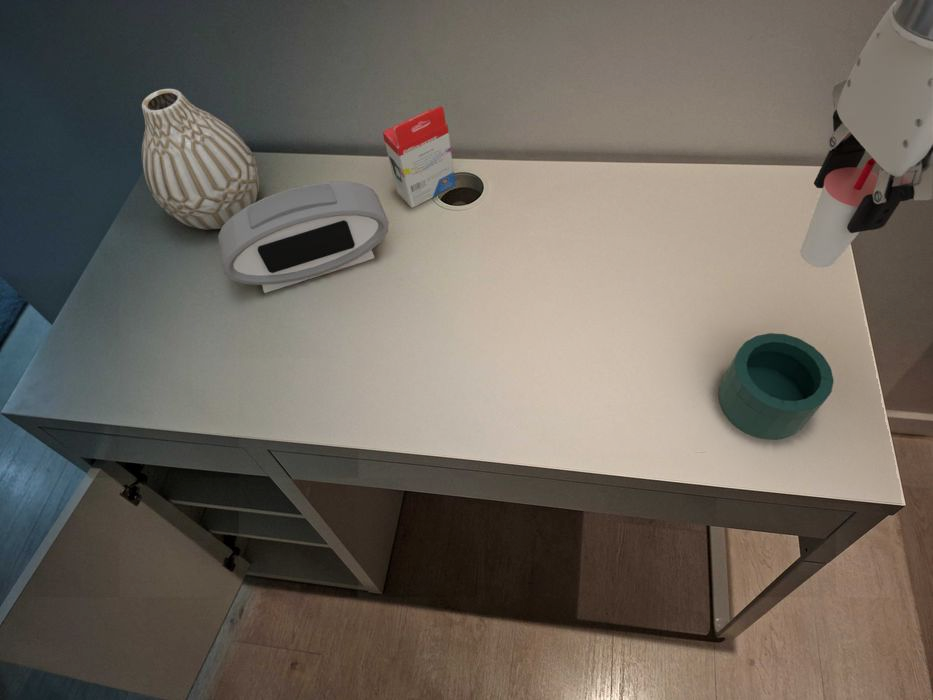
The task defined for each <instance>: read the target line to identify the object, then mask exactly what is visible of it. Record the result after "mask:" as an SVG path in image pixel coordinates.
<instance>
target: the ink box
mask: <svg viewBox="0 0 933 700" xmlns="http://www.w3.org/2000/svg"><path fill="white" fill-rule="evenodd" d="M382 136H383V141H384V144H385V149H386V152H387V157H388V161H389V164H390V169H391V173H392V177H393V181H394V185H395V189H396V193H397V194H398V195H399V196H400V198H401V199H402V200H403V201H405V202H406V204H407V205H408V206H409V207H410V208H412V209H413V208H415V207H418V206H419V205H421V204H423V203H425V202H428V200H431V199H432V198H434V197H436V196H438V195H440V194H442V193H445V192H446V191H448V190H450V189H452V188H454V187H455V186H456V179H455V171H454V163H453V156H452V155H453V154H452V149H451V141H450V134H449V125H448V123H447V121H446V115H445V107H444V105H439V106H437V107H435V108H433V109H432V108H430V109H427V110H426V111H423V112H421V113H419V114H417V115H415V116H413V117H410V118H409V119H406V120H404V121H402V122H400V123H398V124H395V125H394V126H392V127H390V128H387V129H385V130H383V131H382Z"/></svg>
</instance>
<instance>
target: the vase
mask: <svg viewBox="0 0 933 700" xmlns="http://www.w3.org/2000/svg"><path fill="white" fill-rule="evenodd" d="M141 110H142V114H143V118H144V126H145V127H144V132H143V137H142V145H141V166H142V171H143V176H144V178H145V182H146V184H147V187H148V190H149V192H150V194H151V196H152V198H153V199H154V200H155V201H156V203H157V204H158V205H159V206H160V208H162V210H164V212H166V214H168V215H169V216H170V217H171V218H173V219H174V220H175V221H178V222H180V223H182V224H183V225H186V226H188V227H191V228H195V229H199V230H207V231H208V230H221V228H222V226H223V225H224V224H225V223H226V222H227V221H228V220H229V219H230V218H231V217H232V216H234V215H235V214H237V213H238V212H240V211H241V210H243V209H244V208H246V207H247V206H249V205H251V204H253V203H255V202H257V199H258V194H259V190H260V173H259V168H258V165H257V162H256V158H255V157H254V153H253V152H252V151H251V149H250V147H249V146H248V144H247V143H246V142H245V141H244V140H243V138H242V137H241V136H240V134H238V133H237V132H236V131H235V130H234V129H233V128H232V127H231V126H230V125H228V124H227V123H226V122H225V121H223V120H221V119H220V118H218V117H217V116H215V115H213V114H211V113H210V112H208V111H205V110H204V109H202V108H199V107H198V106H195V104H194V103H192V102H191V101H190V100H189V99H188V98H187V97H186V96H185V95H184V94H183V93H182V92H181V91H180V90H178V89H175V88H162V89H159V90H156V91H154V92H151V93H150V94H149V95H147V96H145V98H144V99H143V100H142V103H141Z"/></svg>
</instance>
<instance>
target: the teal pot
mask: <svg viewBox="0 0 933 700" xmlns="http://www.w3.org/2000/svg"><path fill="white" fill-rule="evenodd" d="M834 382H835V381H834V376H833V371H832V368H831V366H830V364H829V362H828V360H827V359H826V358H825V356H824V354H822V353H821V352H820V351H819V350H818V349H816V348H815V346H813V345H811V344H810V343H808V342H806V341H805V340H803V339H801V338H799V337H795V336H792V335H789V334H786V333H772V332H770V333H764V334H759V335H755V336H753V337H752V338H750V339H747V341H745V342H743V344H742V345H741V346H740V348H739V349H738V350H737V352H736V354H735V356H734V358H733V359H732V361H731V363H730V365H729V366H728V369H727V371H726V372H725V374H724V376H723V378H722V380H721V383H720V384H719V389H718V401H719V405H720V409H721V410H722V412H723V414H724V415H725V417H726V418H727V419H728V421H730V423H731V424H733V425H734V426H735V427H736V428H738V429H739V430H740V431H742V432H743V433H745V434H747V435H749V436H752V437H755V438H757V439H763V440H781V439H786V438H789V437H792V436H794V435H795V434H797V433H798V432H799V431H801V429H802V428H803V427H804V426H805V425H806V424H807V423H808V421H810V419H811V418H812V417H813V415H815V414H816V412H817V411H818V410H819V409H820V407H822V405H823V404H824V403H825V402H826V400H827V399H828V397H829V396H830V395H831V393H832V392H833V387H834Z"/></svg>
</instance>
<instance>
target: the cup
mask: <svg viewBox="0 0 933 700" xmlns="http://www.w3.org/2000/svg"><path fill="white" fill-rule="evenodd" d="M876 163H877V162H876V161H875V160H874V159H873V158H872V157H871V158H869V159H867V161H866V163H865V165H864V167H863V168H860V167H857V168H855V167H846V168H841V169H836V170H833V171H831V172H830V173H829V174H828V175H827V176H826V177H825V180H824V187H823V188H821V189H822V190H821V192H820V194H819V197H818V201H817V203H816V206H815V209H814V212H813V214H812V217H811V219H810V223H809V225H808V228H807V231H806V233H805V237H804V239H803V242H802V244H801V248H800V250H799V251H800V257H801V258H802V260H803V261H804V262H805V263H807V264H808V265H811V266H812V267H817V268H827V267H831V266H833V265H835V264H836V262H837V261H838V260H839V258H840V257H841V256H842V254H843V253H845V252H846V250H847V249H848V247H849V246H850V245H851V243H853V241H854V239H856V238H857V236H858V235H859V234H860V232H856V233H850V232H849V231H848V229H847V227H848V226H847V225H848V223H849V222H850V220H851V218H852V217H853V215H854V213H855V212H856V210H857V208H858V206H859V205H860V203H861V201H862V200H863V198H864V197H865V196H866V195H869V194H873V192H874V188H875V185H876V181H877V178H878V174H877V173H875V172H874V171H872V170H873V169H874V167H875V165H876Z"/></svg>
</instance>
